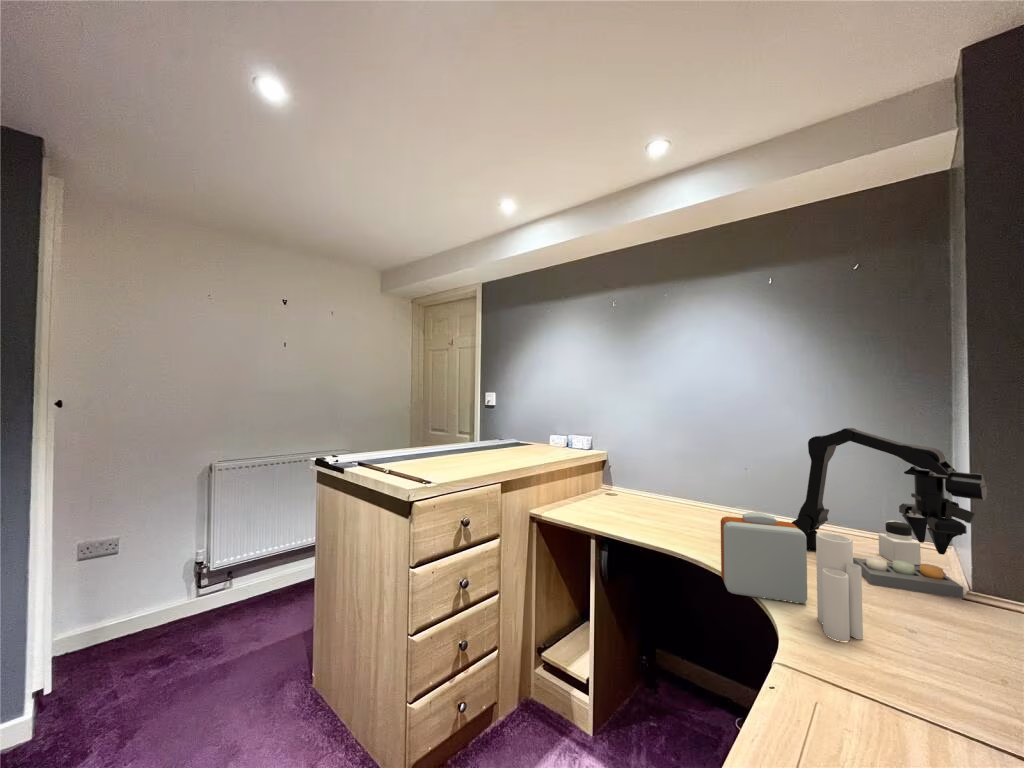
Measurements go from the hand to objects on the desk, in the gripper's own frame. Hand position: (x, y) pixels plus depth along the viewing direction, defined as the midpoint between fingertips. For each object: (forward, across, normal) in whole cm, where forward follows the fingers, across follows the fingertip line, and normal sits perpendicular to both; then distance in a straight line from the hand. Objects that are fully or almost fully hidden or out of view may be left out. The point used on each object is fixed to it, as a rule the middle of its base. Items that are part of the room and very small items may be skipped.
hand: (931, 548), depth 110 cm
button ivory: (+8, 0, +12) cm, 15 cm away
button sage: (+8, -1, +6) cm, 10 cm away
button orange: (+8, -1, 0) cm, 8 cm away
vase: (+10, -36, +32) cm, 50 cm away
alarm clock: (+10, -23, +45) cm, 52 cm away
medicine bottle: (+10, +18, 0) cm, 21 cm away
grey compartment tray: (+10, -1, +6) cm, 12 cm away
